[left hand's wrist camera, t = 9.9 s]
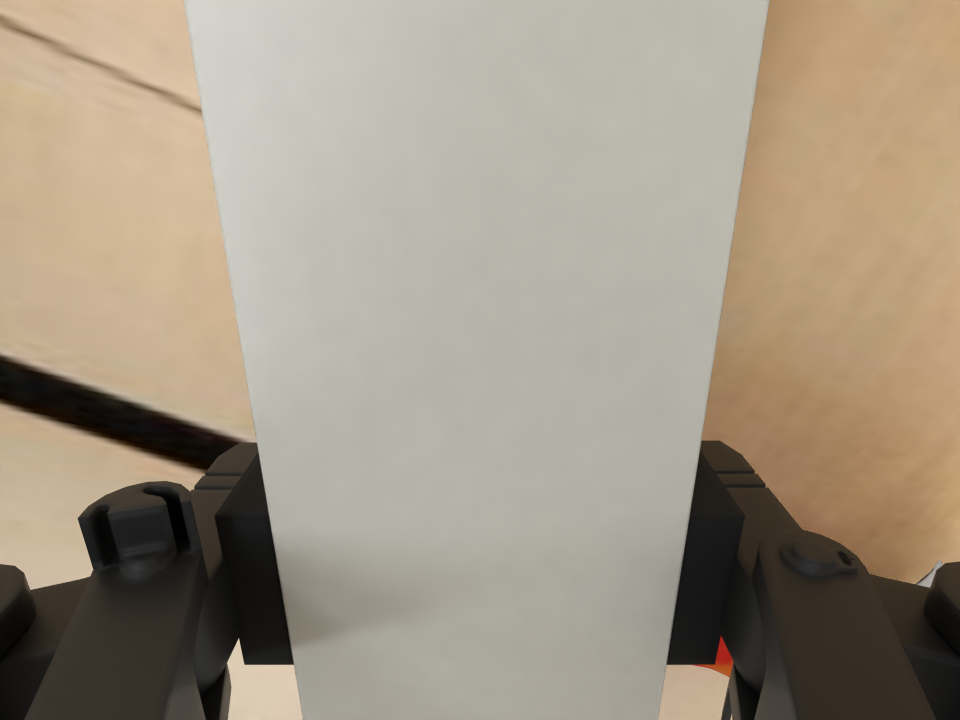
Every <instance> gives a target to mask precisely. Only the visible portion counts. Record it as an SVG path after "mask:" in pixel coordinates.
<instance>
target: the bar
mask: <svg viewBox="0 0 960 720" xmlns="http://www.w3.org/2000/svg"><path fill="white" fill-rule="evenodd" d="M769 1H770V0H184V6H185V12H186V18H187V24H188V31H189V37H190V43H191V49H192V55H193V61H194V67H195V73H196V79H197V85H198V91H199V97H200V103H201V109H202V115H203V121H204V127H205V133H206V139H207V145H208V151H209V157H210V163H211V169H212V175H213V181H214V187H215V193H216V199H217V205H218V211H219V217H220V223H221V229H222V235H223V241H224V247H225V253H226V259H227V265H228V271H229V277H230V283H231V289H232V295H233V301H234V307H235V313H236V319H237V325H238V331H239V337H240V343H241V349H242V355H243V361H244V367H245V373H246V379H247V385H248V391H249V397H250V403H251V409H252V415H253V421H254V427H255V433H256V439H257V445H258V451H259V457H260V463H261V469H262V475H263V481H264V487H265V493H266V499H267V505H268V511H269V517H270V523H271V529H272V535H273V541H274V547H275V553H276V559H277V565H278V571H279V577H280V583H281V589H282V595H283V601H284V607H285V613H286V619H287V625H288V631H289V637H290V643H291V649H292V655H293V661H294V668H295V674H296V680H297V686H298V692H299V698H300V704H301V710H302V716H303V720H658V716H659V709H660V703H661V696H662V690H663V684H664V677H665V671H666V664H667V658H668V651H669V645H670V638H671V632H672V626H673V619H674V613H675V606H676V600H677V593H678V587H679V581H680V574H681V568H682V561H683V555H684V548H685V542H686V535H687V529H688V523H689V516H690V510H691V503H692V497H693V490H694V484H695V478H696V471H697V465H698V458H699V452H700V445H701V439H702V432H703V426H704V420H705V413H706V407H707V400H708V394H709V387H710V381H711V375H712V368H713V362H714V355H715V349H716V342H717V336H718V329H719V323H720V317H721V310H722V304H723V297H724V291H725V284H726V278H727V272H728V265H729V259H730V252H731V246H732V239H733V233H734V226H735V220H736V214H737V207H738V201H739V194H740V188H741V181H742V175H743V169H744V162H745V156H746V149H747V143H748V136H749V130H750V123H751V117H752V111H753V104H754V98H755V91H756V85H757V78H758V72H759V66H760V59H761V53H762V46H763V40H764V33H765V27H766V20H767V14H768V8H769Z"/></svg>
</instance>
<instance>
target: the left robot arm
mask: <svg viewBox="0 0 960 720" xmlns="http://www.w3.org/2000/svg"><path fill="white" fill-rule="evenodd" d="M78 521H79V524H80V527H81V531H82V534H83V537H84V540H85V543H86V547H87V550H88V553H89V556H90V560H91V563H92V566H93V569H94V570H93V572H92V574H91V576H90V577H87V578H84V579H80V580H75V581H71V582H66V583H61V584H57V585H52V586H47V587H43V588H38V589H33V590H30V588H29V585H28V583H27V580H26V577H25V574H24V573H23V572H22V571H21V570H19V569H18V568H17V567H16V566H11V565H2V564H0V720H228V712H229V703H230V695H231V682H230V675H229V670H228V665H227V662H228V659H229V657H230V655H231V653H232V651H233V649H234V647H235V645H236V643H237V641H238V638H239V640H240V645H241V650H242V655H243V660H244V664H245V665H294V661H293V655H292V649H291V643H290V637H289V631H288V625H287V619H286V613H285V607H284V601H283V595H282V589H281V583H280V577H279V571H278V565H277V559H276V553H275V547H274V541H273V535H272V529H271V523H270V517H269V511H268V505H267V499H266V493H265V487H264V481H263V475H262V469H261V463H260V457H259V451H258V445H257V443H239V444H237V445H236V446H234V447H233V448H231V449H229V450H228V451H226V452H225V453H223V454H222V455H220V456H218V458H217V459H216V460H215V461H214V463H213V464H212V465H211V466H210V468H209V469H208V470H207V471H206V473H205V476H202V478H201V479H200V480H199V481H198V483H197V484H196V485H195V488H194V490H191V491H190V492H189V490H187V489H186V488H185V487H184V486H182V485H181V484H177V483H173V482H168V481H159V482H145V483H141V484H136V485H132V486H128V487H125V488H122V489H120V490H117V491H115V492H112V493H110V494H107V495H105V496H104V497H102V498H100V499H99V500H97V501H96V502H94V503H93V504H91V505H90V506H88V507H87V508H86V510H85V511H84V512H83V513H82V514H81V515H80V516H79V517H78ZM721 636H722V639H723V641H724V643H725V645H726V647H727V649H728V651H729V653H730V655H731V657H732V660H733V665H732V670H731V675H730V679H729V684H728V688H727V693H726V697H725V702H724V707H723V711H722V718H721V720H730V718H731V714H732V719H733V720H960V562H952V563H945V564H944V565H943V566H941V567H940V568H939V569H937V570H936V573H935V575H934V578H933V581H932V584H931V586H930V587H925V586H920V585H916V584H911V583H906V582H901V581H897V580H892V579H887V578H882V577H878V576H875V575H871V574H869V573H868V571H867V569H866V568H865V566H864V565H863V564H862V562H861V561H860V560H859V558H858V557H857V556H856V555H855V554H854V553H852V552H851V551H850V550H848V549H847V548H845V547H844V546H843V545H841V544H840V543H838V542H835V541H833V540H831V539H829V538H827V537H825V536H823V535H820V534H816V533H812V532H809V531H805V530H802V529H801V528H800V527H799V525H798V524H797V523H796V522H795V520H794V519H793V518H792V517H791V515H790V514H789V513H788V512H787V510H786V509H785V508H784V507H783V505H782V504H781V503H780V502H779V501H778V499H777V498H776V497H775V496H774V494H773V493H772V492H771V491H770V489H769V488H766V487H765V483H764V482H763V481H762V479H761V478H760V477H759V476H758V474H755V473H754V470H753V468H752V467H751V466H750V465H749V463H748V462H747V461H746V460H745V458H744V457H743V456H742V455H741V454H740V453H738V452H737V451H735V450H733V449H732V448H730V447H729V446H727V445H726V444H724V443H722V442H721V441H701V445H700V452H699V458H698V465H697V471H696V478H695V484H694V490H693V497H692V503H691V510H690V516H689V523H688V529H687V535H686V542H685V548H684V555H683V561H682V568H681V574H680V581H679V587H678V593H677V600H676V606H675V613H674V619H673V626H672V632H671V638H670V645H669V651H668V658H667V664H666V665H715V662H716V657H717V652H718V647H719V642H720V638H721Z"/></svg>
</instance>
